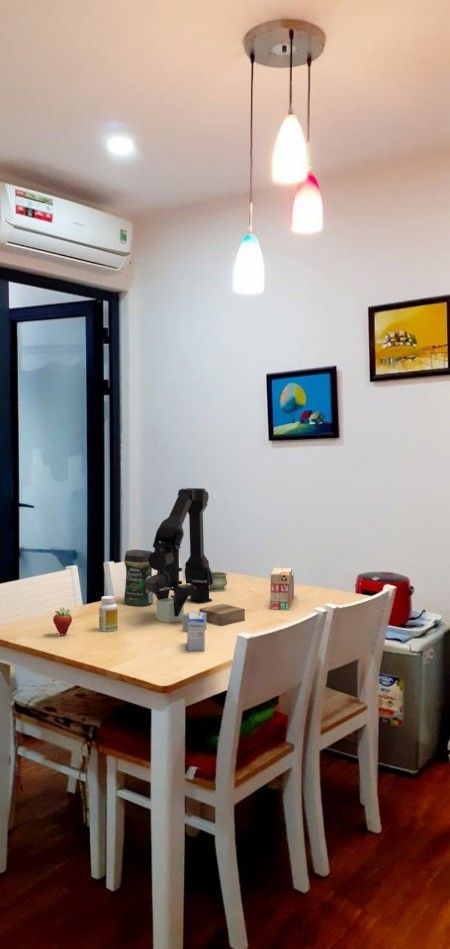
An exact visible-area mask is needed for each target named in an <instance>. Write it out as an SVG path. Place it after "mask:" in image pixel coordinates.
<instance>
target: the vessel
mask: <svg viewBox="0 0 450 949" xmlns="http://www.w3.org/2000/svg"><path fill="white" fill-rule="evenodd" d="M211 572H212V575H213V584H211V585H209V593H219V592H220V593H221V592H225V591H226V588H225V587H226V586H227V585H228V579H227V575H228V574H227V572H223V571H211Z"/></svg>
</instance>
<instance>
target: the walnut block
mask: <svg viewBox="0 0 450 949" xmlns="http://www.w3.org/2000/svg"><path fill="white" fill-rule="evenodd" d="M245 611H246V609H245V608H243V607H238V606H233V605H229V604H225V603H219V604H214V605H211V606H205V607H201V608H199V611H198V612H203V613H206V624H207V623H208V624H210V625H211V624H212V625H216V626H219V627H224V626H228V625H232V624H236V623H241V622H244V621H246V612H245Z"/></svg>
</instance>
